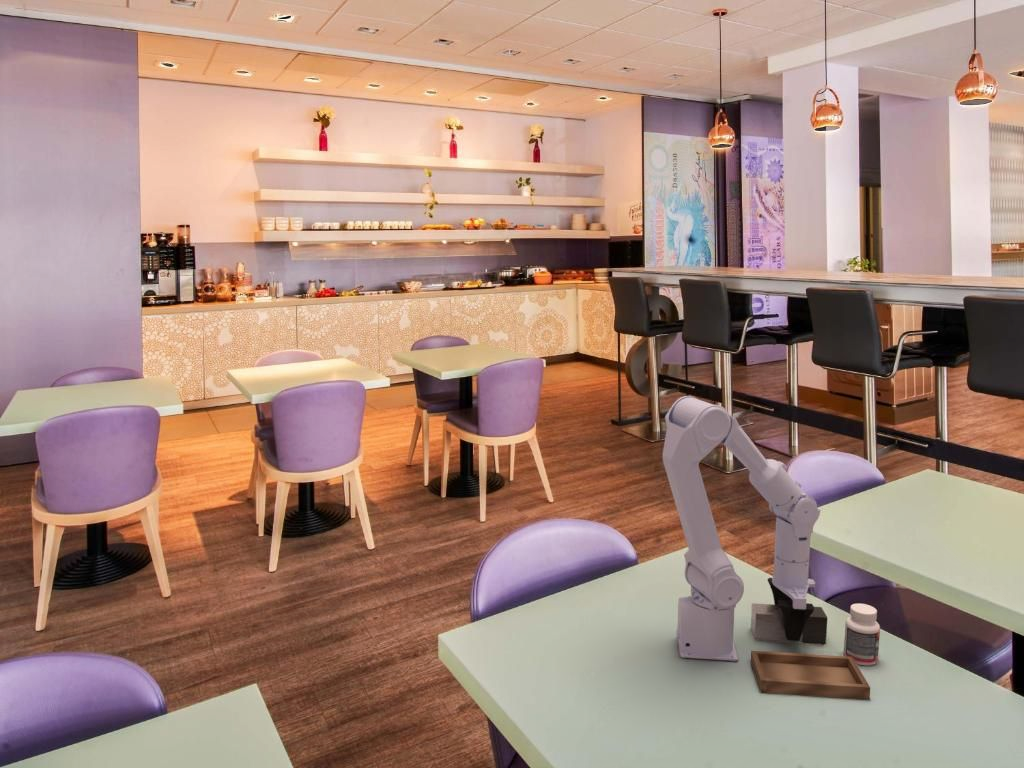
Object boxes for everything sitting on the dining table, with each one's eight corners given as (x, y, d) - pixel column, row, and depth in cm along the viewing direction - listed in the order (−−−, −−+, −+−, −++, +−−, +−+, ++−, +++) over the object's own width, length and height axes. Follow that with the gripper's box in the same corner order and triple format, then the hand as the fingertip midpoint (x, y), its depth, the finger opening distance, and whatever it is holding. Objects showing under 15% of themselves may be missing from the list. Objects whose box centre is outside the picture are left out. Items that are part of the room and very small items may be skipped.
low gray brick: (754, 640, 130) (755, 613, 129) (750, 629, 134) (751, 603, 133) (825, 644, 128) (827, 617, 127) (819, 633, 132) (821, 607, 131)
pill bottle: (881, 668, 121) (885, 617, 119) (847, 665, 122) (851, 614, 120) (872, 651, 126) (876, 602, 124) (840, 648, 127) (843, 600, 125)
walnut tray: (760, 692, 114) (761, 680, 114) (750, 661, 123) (750, 650, 123) (869, 699, 112) (870, 687, 112) (851, 667, 121) (852, 656, 120)
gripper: (827, 574, 121) (822, 651, 123) (805, 542, 135) (801, 611, 137) (782, 572, 122) (778, 648, 124) (765, 540, 136) (762, 609, 138)
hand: (787, 628), depth 131 cm, fingers open, 7 cm apart
